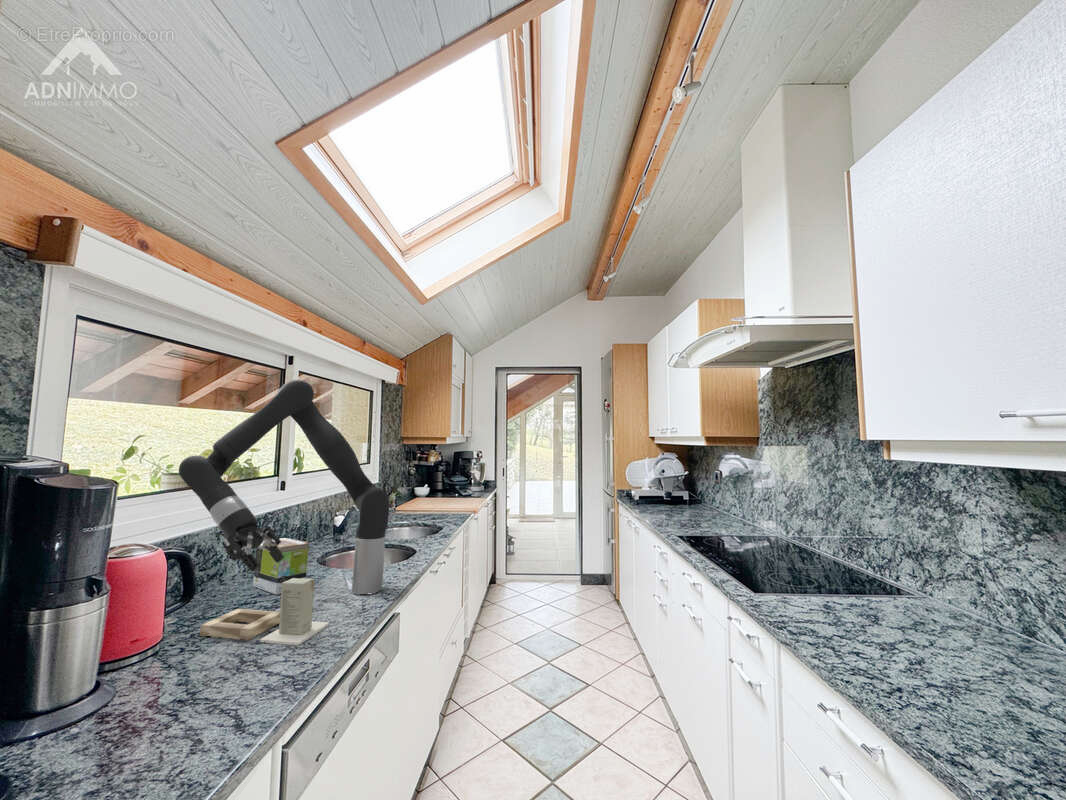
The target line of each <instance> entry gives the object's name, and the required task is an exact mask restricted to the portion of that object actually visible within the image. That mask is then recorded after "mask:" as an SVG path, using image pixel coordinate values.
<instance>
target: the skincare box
mask: <svg viewBox="0 0 1066 800" xmlns="http://www.w3.org/2000/svg"><path fill="white" fill-rule="evenodd" d="M314 586H315V578H306V579H305V578H292V579H290V580H287V581H285V582H283V583H282V589H281V594H280V610H279V612H280V623H278V624H279V625H278V626H279V627H278V629H279V633H281V634H303V633H304V632H306V631H307V630H309V629H310V628H311V627H312V621H313V610H314V609H313V607H314Z"/></svg>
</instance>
